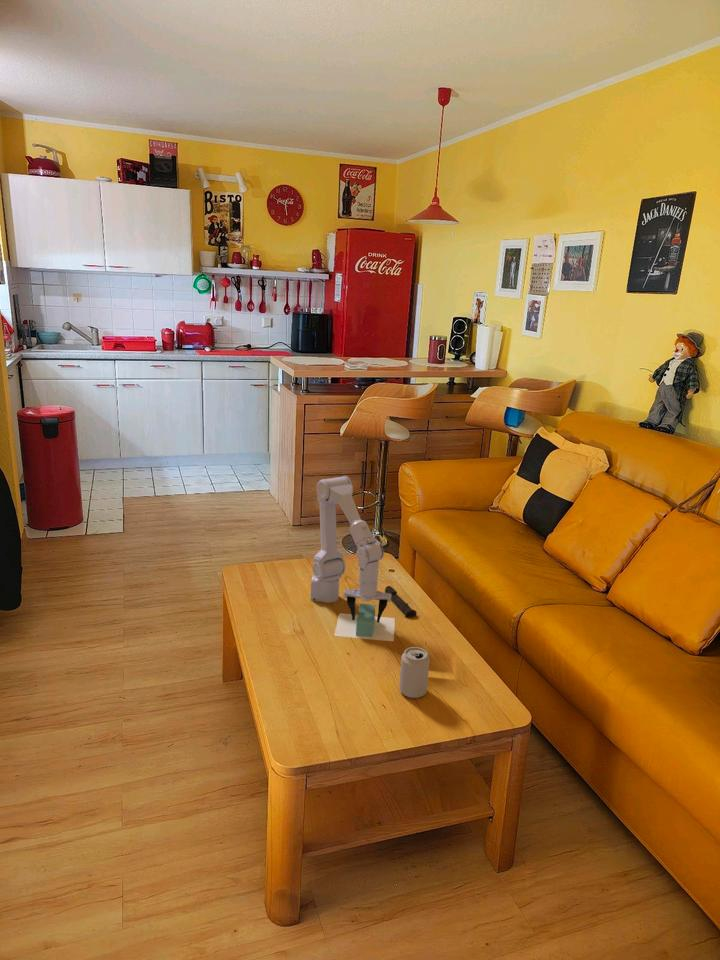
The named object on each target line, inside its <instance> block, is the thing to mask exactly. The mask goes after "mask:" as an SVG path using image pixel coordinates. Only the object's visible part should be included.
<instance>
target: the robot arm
mask: <svg viewBox="0 0 720 960" xmlns="http://www.w3.org/2000/svg"><path fill="white" fill-rule="evenodd" d="M353 493H354V486H353V483H352V481H351V479H350V477H348V475H347V476H346V475H343V476H339V477H332V478H325V479H324V478H323V479H320V480H319V481H318V482H317V484H316V498H317V499H316V500H317V503H319V523H320V524H319V525H320V528H319V529H320V546H321V549H320V550H319V551H318V552H317V553H316V554H315V555H314V556H313V564H312V572H313V573H312V574H313V575H312V577H311V582H310V593H309V595H310V601H312V602H313V601H314V602H321V603H327V604H330V603H335V602H337V601H338V600H339V598H340V597H339V596H340V578H342V577H343V574H344V573H346V572H345V571H346V569H347V566H346V563H345V559H344V553H343V552H341V551H340V550H339V549H338V543H337V542H338V538H337V512H336V510H337V509H336V505H339V507H340V509H341V510H342V512H343V514H344V516H345V517H346V519H347V521H348V523H349V528H348V529H349V532H350V533H349V534H350V535H351V537H352V539H353V541H354V544H355V545H356V546H355V547H356V548H357V550H356V551H355V552H356V557H357V565H358V567H359V574H358V575H359V576H358V578H359V579H358V588H357V589H343V597H342V598H343V599H346V604H347V607H348V608H349V611H350V614H351V615H352V620H355V615H356V599H360V600H363V602H370V601H378V608H377V609H378V612H377V616H376V617H377V622H378V623H379V621H380V617H382V615H383V613H384V611H385V609H386V608H387V606H388V603H391V602H392V601H391V594H389V593H385V591H384V592H383V591H381V590H378V583H379V580H378V579H379V568H380V567H379V566H380V560H382V559H383V558H384V554H385V553H384V551H385V550H384V548H383V544H382V543H381V542H380V541H379V540H378V539H377V538H376V537H374V535H373V534H372V532H371V530H370V527H369V525H368V523H367V522H366V521H365V520H364V519H361V517H360V514H359V511H358V508H357V505H356V503H355V500H354V497H353Z"/></svg>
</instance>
